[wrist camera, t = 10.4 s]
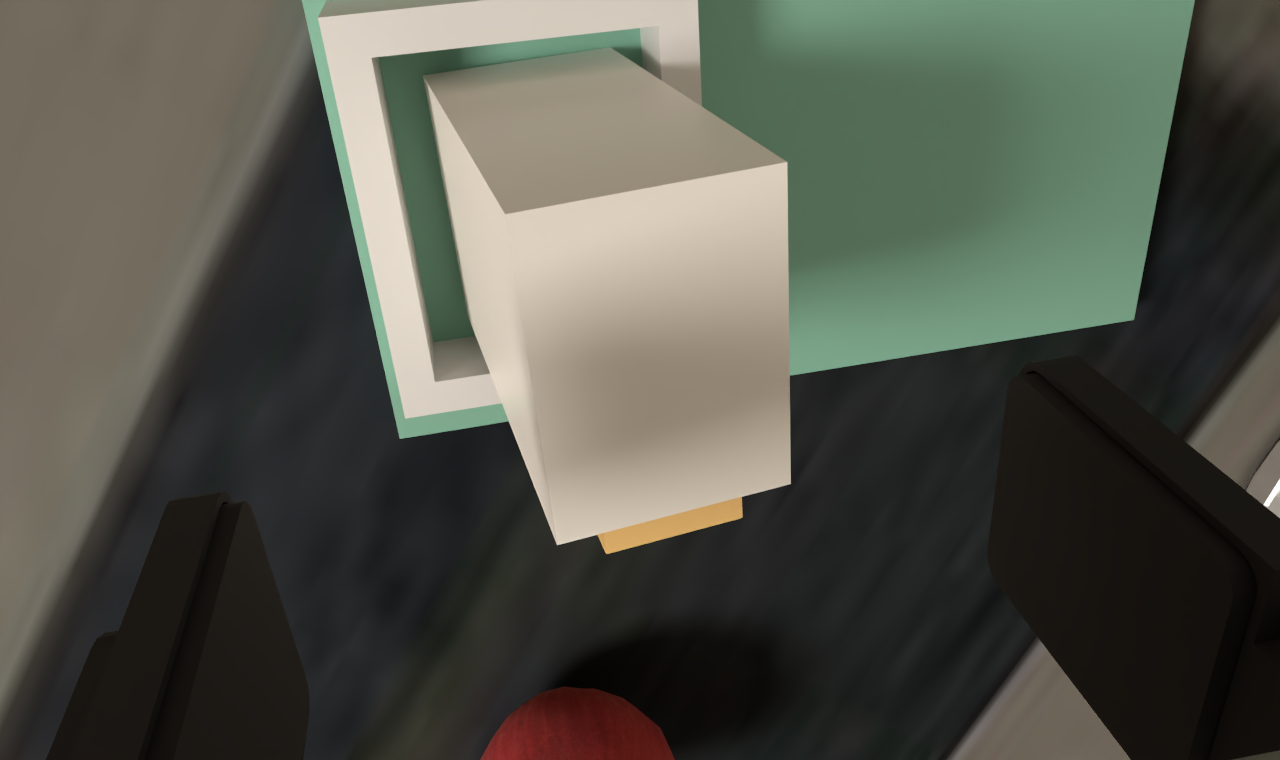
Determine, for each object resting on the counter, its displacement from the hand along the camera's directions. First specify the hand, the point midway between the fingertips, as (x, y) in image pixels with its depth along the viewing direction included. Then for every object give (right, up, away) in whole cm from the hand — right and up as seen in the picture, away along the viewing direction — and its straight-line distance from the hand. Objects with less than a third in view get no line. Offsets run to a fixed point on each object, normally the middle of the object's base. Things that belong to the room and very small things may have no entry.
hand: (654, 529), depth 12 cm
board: (+3, +8, +13) cm, 15 cm away
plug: (-2, +6, +11) cm, 13 cm away
